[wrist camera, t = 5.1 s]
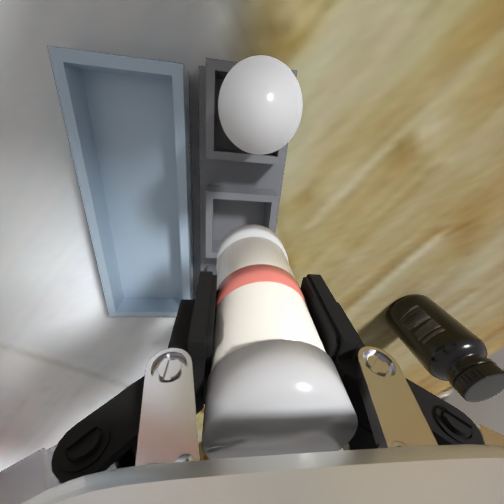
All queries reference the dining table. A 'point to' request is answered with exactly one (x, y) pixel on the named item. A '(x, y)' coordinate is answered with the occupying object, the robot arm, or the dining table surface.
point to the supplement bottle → (446, 347)
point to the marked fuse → (268, 360)
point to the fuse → (260, 104)
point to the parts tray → (132, 174)
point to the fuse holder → (231, 173)
